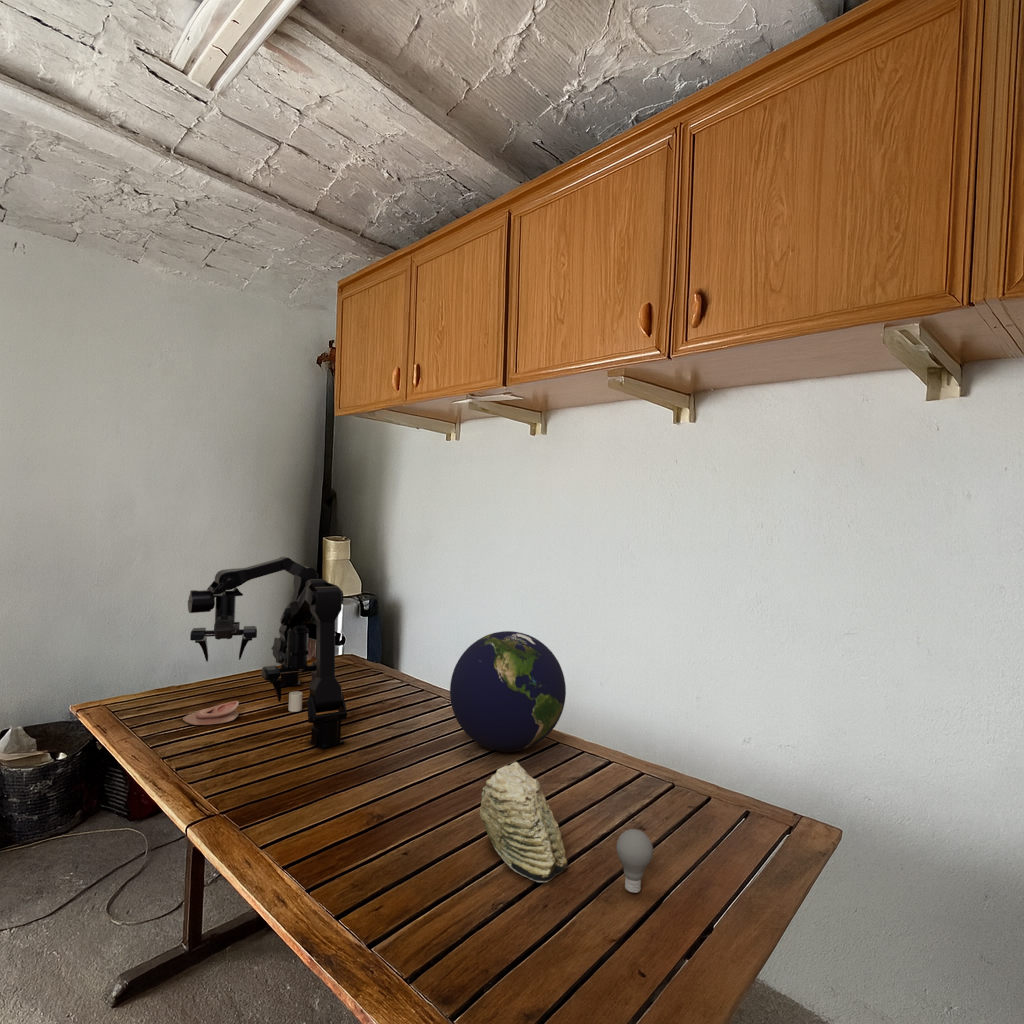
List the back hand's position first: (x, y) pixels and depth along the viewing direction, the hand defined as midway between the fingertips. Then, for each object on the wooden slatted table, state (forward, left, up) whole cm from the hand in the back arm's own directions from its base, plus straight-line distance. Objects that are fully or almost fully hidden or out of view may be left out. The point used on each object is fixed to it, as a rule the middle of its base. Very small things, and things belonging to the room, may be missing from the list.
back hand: (223, 660), depth 197 cm
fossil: (+112, +53, -10) cm, 124 cm away
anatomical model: (+23, -2, -10) cm, 25 cm away
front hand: (+21, +20, -7) cm, 30 cm away
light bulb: (+128, +66, -10) cm, 144 cm away
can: (+21, +20, -10) cm, 31 cm away
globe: (+65, +69, -10) cm, 96 cm away
